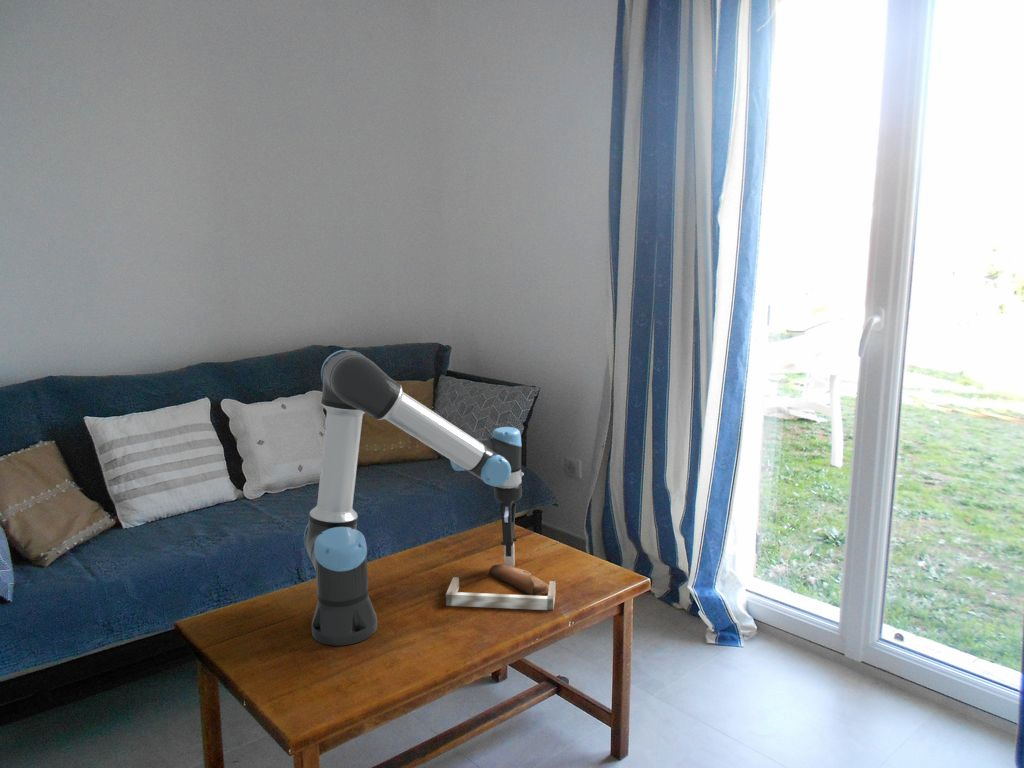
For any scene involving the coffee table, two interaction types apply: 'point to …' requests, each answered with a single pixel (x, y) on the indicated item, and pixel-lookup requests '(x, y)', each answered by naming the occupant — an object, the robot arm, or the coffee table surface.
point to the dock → (499, 599)
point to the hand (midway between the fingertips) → (509, 565)
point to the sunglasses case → (518, 579)
